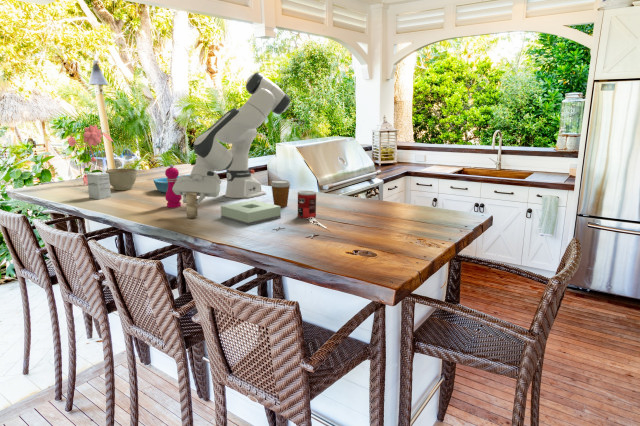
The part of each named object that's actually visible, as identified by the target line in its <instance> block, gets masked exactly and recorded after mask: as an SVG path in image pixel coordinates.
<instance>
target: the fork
mask: <svg viewBox="0 0 640 426" xmlns="http://www.w3.org/2000/svg"><path fill="white" fill-rule="evenodd" d="M311 218H312V217H311ZM311 218H310V219H308V221H309V222H312V223H313V221H317V219H316V217H315V218H314V217H313V218H312V219H311ZM317 224H318V225H317ZM313 225H317V226H319V225H320V226H322V227H324V228H327V226H325V225H324V224H322V223H320V222H318V223H314V224H313ZM320 226H319V227H320ZM322 227H321V228H322ZM324 228H323V229H324Z"/></svg>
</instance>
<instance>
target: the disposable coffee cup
mask: <svg viewBox="0 0 640 426" xmlns="http://www.w3.org/2000/svg"><path fill="white" fill-rule="evenodd" d="M270 186H271V193H272V199H273V205H277V206H281V208H286V207H288V201H289V193H290V186H291V182H290V180H286V179H285V180H284V179H276V180H272V181H271V182H270ZM285 206H286V207H285Z"/></svg>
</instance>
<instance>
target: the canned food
mask: <svg viewBox="0 0 640 426" xmlns="http://www.w3.org/2000/svg"><path fill="white" fill-rule="evenodd" d="M316 215H317V191H314V190H300V191H298V192H297V217H298V218H299V217H300V218H299V219H302V218H311V217H312V218H313V217H315V218H316ZM313 219H314V218H313Z"/></svg>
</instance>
